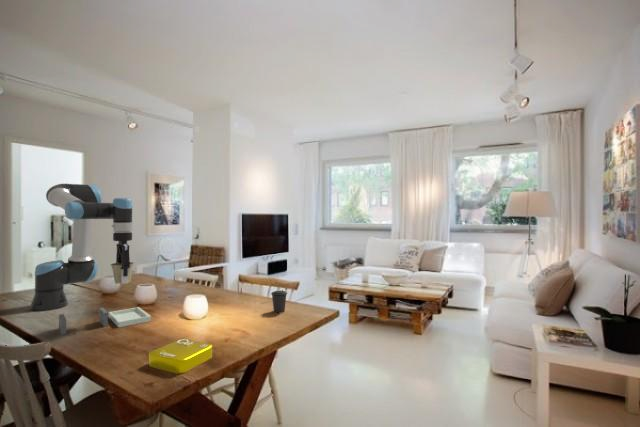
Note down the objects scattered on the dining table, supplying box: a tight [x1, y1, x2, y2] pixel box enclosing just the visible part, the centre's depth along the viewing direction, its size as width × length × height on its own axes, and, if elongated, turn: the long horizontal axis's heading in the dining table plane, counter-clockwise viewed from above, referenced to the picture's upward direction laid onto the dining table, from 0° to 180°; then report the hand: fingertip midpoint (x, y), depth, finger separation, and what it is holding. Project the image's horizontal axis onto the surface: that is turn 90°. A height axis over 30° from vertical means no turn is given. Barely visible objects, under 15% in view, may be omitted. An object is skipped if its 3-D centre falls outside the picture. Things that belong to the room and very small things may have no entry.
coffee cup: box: [271, 290, 288, 314], centre depth 170 cm, size 8×8×10 cm
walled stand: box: [58, 307, 109, 336], centre depth 146 cm, size 10×16×6 cm, turn 132°
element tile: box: [148, 338, 213, 375], centre depth 113 cm, size 15×15×5 cm
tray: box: [108, 306, 152, 328], centre depth 157 cm, size 20×13×2 cm, turn 42°
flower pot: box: [110, 261, 135, 284], centre depth 155 cm, size 9×9×9 cm
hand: (122, 281), depth 155 cm, fingers closed on flower pot, 8 cm apart
